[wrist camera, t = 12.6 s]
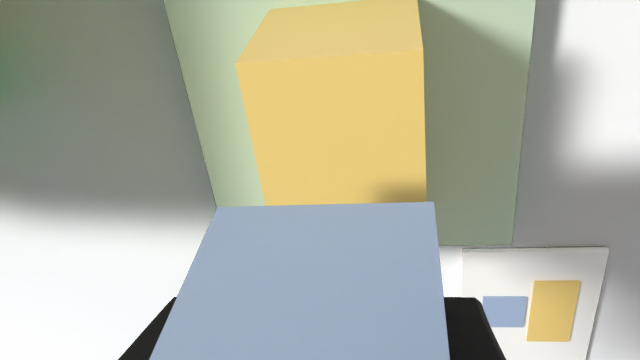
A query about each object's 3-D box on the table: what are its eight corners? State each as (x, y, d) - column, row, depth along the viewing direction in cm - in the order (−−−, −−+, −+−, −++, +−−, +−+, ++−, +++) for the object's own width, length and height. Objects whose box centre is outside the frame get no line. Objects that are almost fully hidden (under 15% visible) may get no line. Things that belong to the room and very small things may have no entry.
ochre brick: (422, 209, 18) (428, 296, 15) (303, 212, 19) (285, 297, 16) (416, -5, 15) (423, 49, 11) (269, 9, 15) (235, 63, 12)
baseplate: (506, 226, 20) (512, 244, 19) (234, 231, 21) (227, 248, 20) (534, -82, 14) (543, -75, 14) (166, -45, 16) (153, -37, 15)
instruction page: (583, 359, 23) (585, 365, 23) (458, 357, 24) (459, 363, 23) (607, 247, 20) (610, 252, 19) (462, 248, 20) (463, 254, 20)
